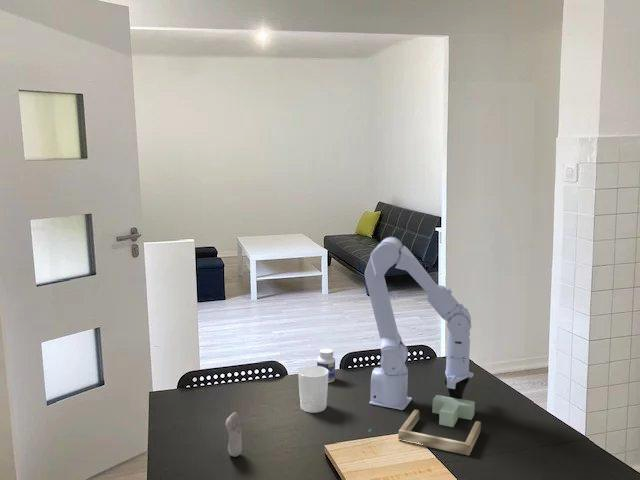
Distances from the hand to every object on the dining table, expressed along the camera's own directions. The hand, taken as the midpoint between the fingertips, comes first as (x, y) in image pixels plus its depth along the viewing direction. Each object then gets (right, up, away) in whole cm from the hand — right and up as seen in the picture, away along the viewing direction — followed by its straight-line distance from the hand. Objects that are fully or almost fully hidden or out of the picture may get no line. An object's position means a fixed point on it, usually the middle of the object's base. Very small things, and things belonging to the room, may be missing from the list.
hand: (456, 405), depth 160 cm
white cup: (-37, -1, +1) cm, 37 cm away
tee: (-2, -2, -5) cm, 6 cm away
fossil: (-54, -5, -24) cm, 60 cm away
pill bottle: (-34, +2, +20) cm, 39 cm away
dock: (-7, -3, -14) cm, 16 cm away
